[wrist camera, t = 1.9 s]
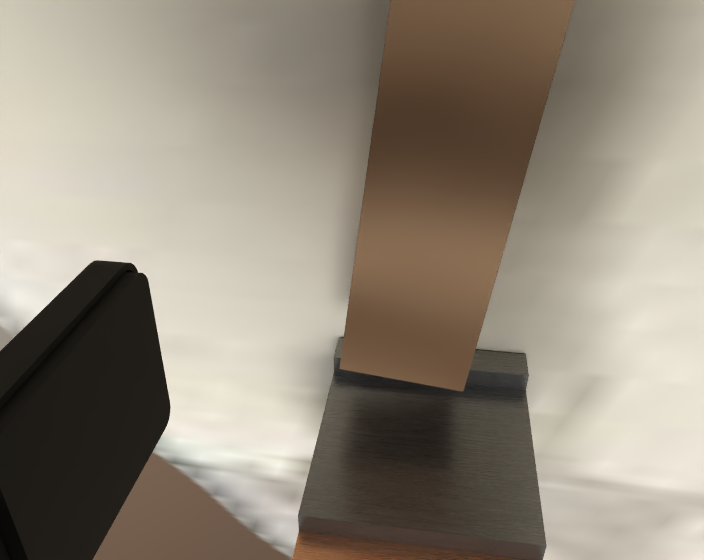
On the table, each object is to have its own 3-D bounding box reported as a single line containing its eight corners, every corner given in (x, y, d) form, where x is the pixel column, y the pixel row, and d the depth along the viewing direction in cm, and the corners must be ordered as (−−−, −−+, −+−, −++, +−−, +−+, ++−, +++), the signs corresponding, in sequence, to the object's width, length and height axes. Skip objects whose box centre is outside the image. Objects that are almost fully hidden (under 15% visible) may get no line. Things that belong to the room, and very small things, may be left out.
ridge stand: (338, 337, 24) (289, 529, 17) (525, 354, 24) (555, 563, 16) (339, 421, 27) (296, 620, 20) (509, 438, 26) (529, 654, 19)
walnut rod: (436, -250, 15) (430, -288, 12) (606, -229, 15) (649, -261, 12) (356, 300, 24) (339, 368, 20) (462, 318, 24) (463, 391, 20)
